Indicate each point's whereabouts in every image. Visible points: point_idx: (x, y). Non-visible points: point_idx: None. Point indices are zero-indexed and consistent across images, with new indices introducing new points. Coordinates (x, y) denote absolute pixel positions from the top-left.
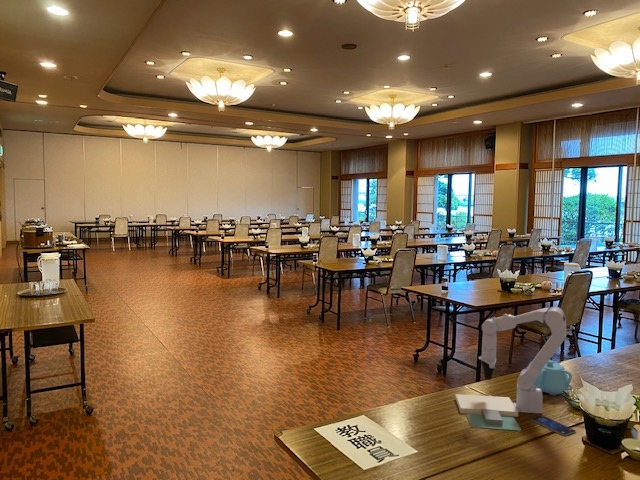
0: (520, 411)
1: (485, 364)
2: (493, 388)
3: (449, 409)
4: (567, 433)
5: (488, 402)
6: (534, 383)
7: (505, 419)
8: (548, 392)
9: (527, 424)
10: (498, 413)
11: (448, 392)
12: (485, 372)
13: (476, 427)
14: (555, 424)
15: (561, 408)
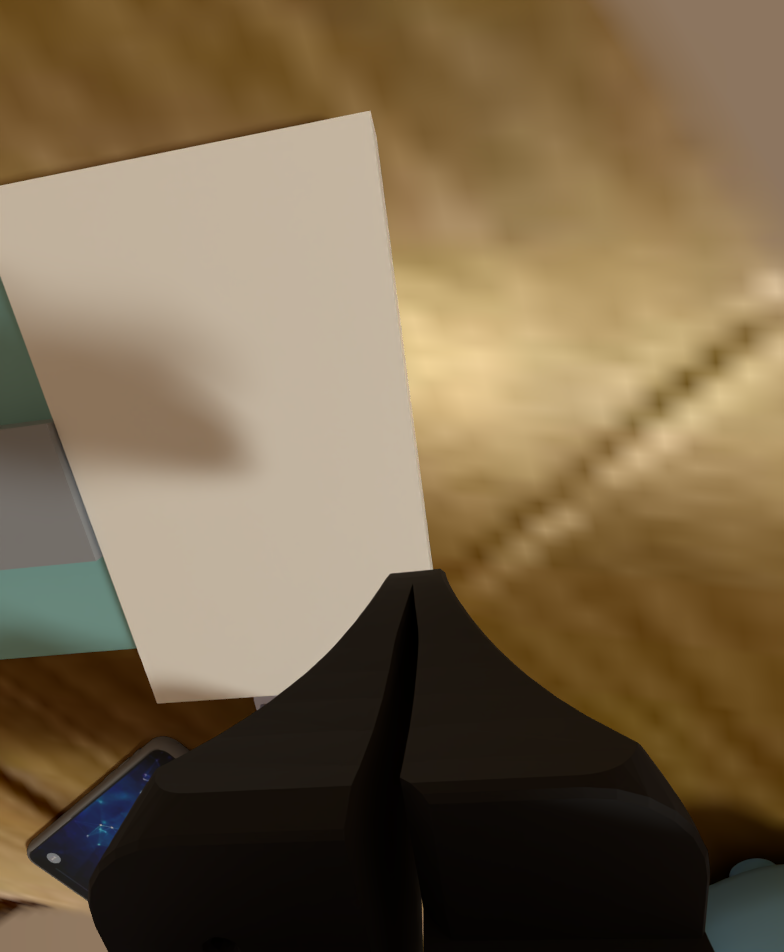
0: (257, 705)
1: (111, 932)
2: (756, 568)
3: (46, 68)
4: (52, 872)
5: (254, 498)
6: (751, 930)
7: (68, 589)
8: None
9: (83, 707)
10: (26, 561)
11: (559, 25)
12: (335, 658)
13: None
14: None
15: None
